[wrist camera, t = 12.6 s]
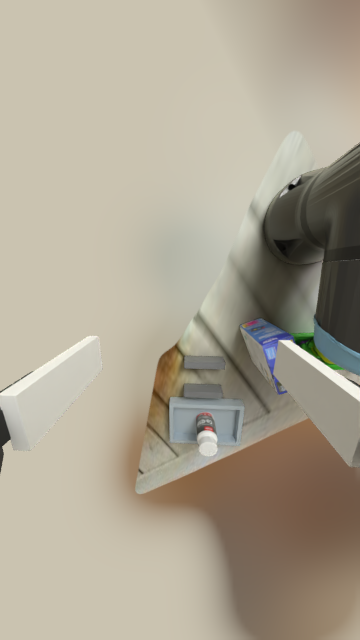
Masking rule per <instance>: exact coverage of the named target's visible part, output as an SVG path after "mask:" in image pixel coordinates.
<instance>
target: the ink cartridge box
mask: <svg viewBox="0 0 360 640" xmlns="http://www.w3.org/2000/svg"><path fill="white" fill-rule="evenodd" d="M240 330H241V332H242V335H243V338H244V341H245V343H246V346H247V349H248V351H249V354H250V357H251V360H252V362H253V363H254V364H255V365H256V367H257V368H258V369H259V371H260V372H261V373H262V374H263V376H264V377H265V378H266V380H267V381H268V382H269V383H270V385H271V386H272V387H273V389H274V390H275V391H276V392H277V394H283V393H286V392H287V390H286V389H285V388H284V387H283V386H282V384H281V383H280V382H279V381H278V380H277V378H276V377H275V376H274V375H273V371H274V365H275V359H276V353H277V346H278V340H290V341H291V342H293V343H294V344H296V343H295V340H294V337H293V335H291V334H289V333H287V332H285V331H284V330H282V329H280V328H278V327H276V326H274V325H273V324H271V323H269V322H267V321H265V320H264V319H262V318H259V319H256V320H253V321H250V322H247V323H244V324H242V325H240Z"/></svg>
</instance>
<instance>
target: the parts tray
mask: <svg viewBox="0 0 360 640" xmlns="http://www.w3.org/2000/svg"><path fill="white" fill-rule="evenodd" d="M244 408H245V406H244V404H243V401H242V399H219V398H191V397H170V403H169V418H170V443H189V444H198V442H197V432H196V417H197V415H198V414H199V413H201V412H209V413H211V414H212V415H213V416H214V420H215V426H216V432H217V445H231V446H240V441H241V433H242V425H243V416H244Z"/></svg>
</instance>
